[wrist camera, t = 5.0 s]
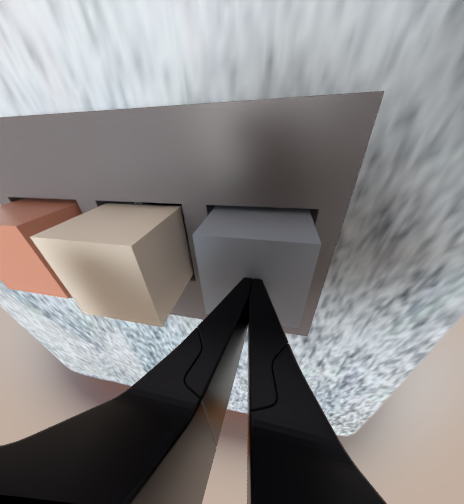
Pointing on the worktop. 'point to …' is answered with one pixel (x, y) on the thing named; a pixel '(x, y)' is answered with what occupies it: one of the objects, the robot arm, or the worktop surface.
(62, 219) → the brick key
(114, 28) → the worktop surface
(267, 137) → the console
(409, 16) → the worktop surface
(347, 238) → the worktop surface
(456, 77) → the worktop surface
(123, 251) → the ivory key
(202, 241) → the slate key
